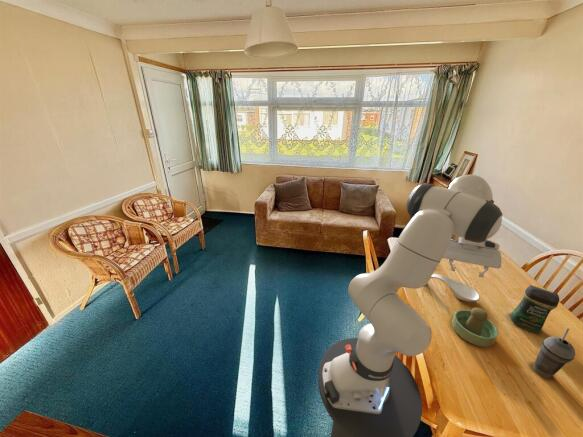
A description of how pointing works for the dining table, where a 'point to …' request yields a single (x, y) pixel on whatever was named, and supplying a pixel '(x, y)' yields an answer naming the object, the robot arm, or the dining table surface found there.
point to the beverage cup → (553, 355)
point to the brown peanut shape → (476, 321)
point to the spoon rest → (459, 289)
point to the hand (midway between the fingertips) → (466, 273)
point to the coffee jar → (534, 308)
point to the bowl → (483, 340)
